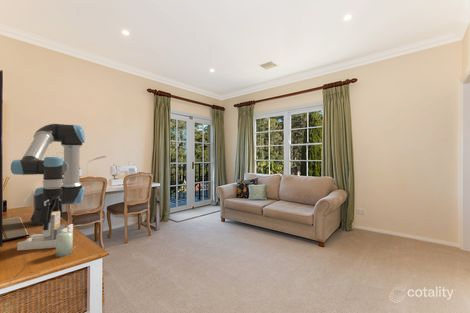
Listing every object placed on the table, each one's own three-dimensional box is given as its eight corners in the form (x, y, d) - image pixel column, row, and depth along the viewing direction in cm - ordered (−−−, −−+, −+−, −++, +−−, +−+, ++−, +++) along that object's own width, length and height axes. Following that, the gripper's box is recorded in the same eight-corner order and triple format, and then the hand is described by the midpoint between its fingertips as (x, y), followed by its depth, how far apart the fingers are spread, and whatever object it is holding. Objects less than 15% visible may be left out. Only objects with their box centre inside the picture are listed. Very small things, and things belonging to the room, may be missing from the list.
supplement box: (48, 236, 115) (49, 211, 115) (60, 235, 116) (60, 210, 117) (41, 242, 107) (42, 215, 107) (54, 241, 109) (55, 214, 109)
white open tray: (31, 241, 114) (32, 225, 114) (72, 238, 119) (73, 223, 119) (17, 250, 104) (17, 232, 104) (62, 247, 108) (63, 230, 108)
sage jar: (59, 251, 103) (60, 232, 103) (74, 250, 105) (75, 231, 105) (52, 257, 98) (53, 236, 98) (68, 256, 99) (69, 235, 99)
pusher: (62, 238, 117) (62, 224, 117) (75, 237, 118) (75, 224, 118) (53, 244, 108) (54, 229, 109) (68, 243, 110) (68, 229, 110)
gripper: (55, 185, 121) (54, 227, 121) (30, 191, 101) (29, 241, 100) (71, 185, 123) (70, 226, 123) (50, 190, 103) (48, 240, 102)
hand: (51, 233), depth 112 cm, fingers closed on supplement box, 9 cm apart
